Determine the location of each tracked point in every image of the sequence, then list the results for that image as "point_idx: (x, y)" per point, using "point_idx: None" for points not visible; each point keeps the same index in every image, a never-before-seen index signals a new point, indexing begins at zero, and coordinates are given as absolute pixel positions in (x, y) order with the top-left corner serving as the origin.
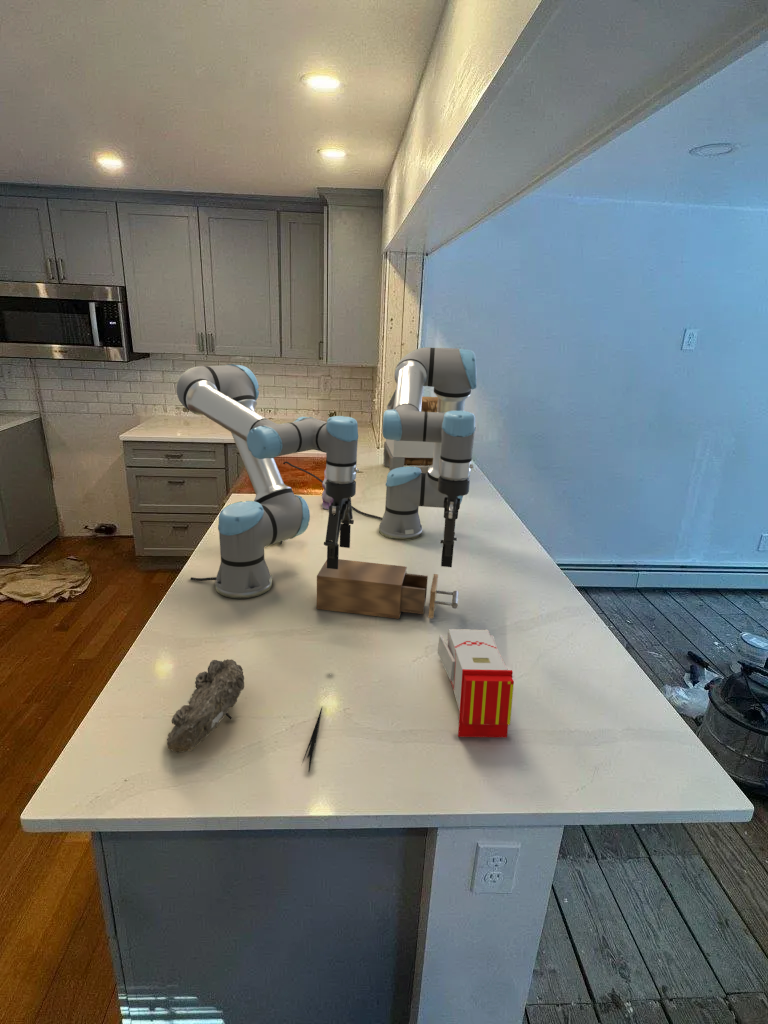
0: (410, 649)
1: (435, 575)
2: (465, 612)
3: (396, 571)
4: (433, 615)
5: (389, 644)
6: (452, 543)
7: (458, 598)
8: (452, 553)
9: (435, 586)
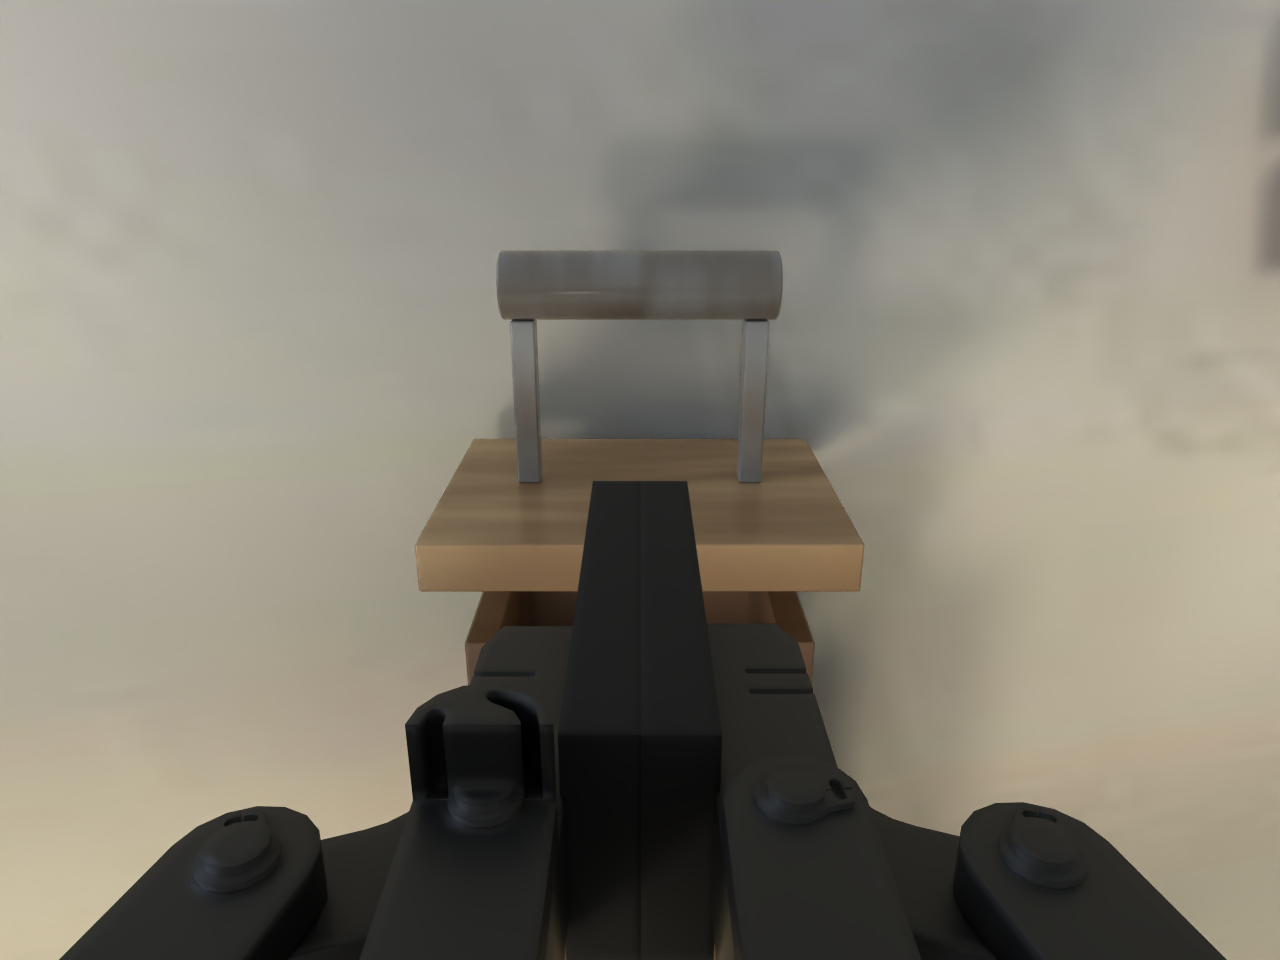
0: (1204, 548)
1: (457, 571)
2: (572, 153)
3: (565, 949)
4: (778, 442)
5: (1145, 682)
6: (1118, 868)
7: (630, 252)
8: (702, 605)
9: (736, 551)
